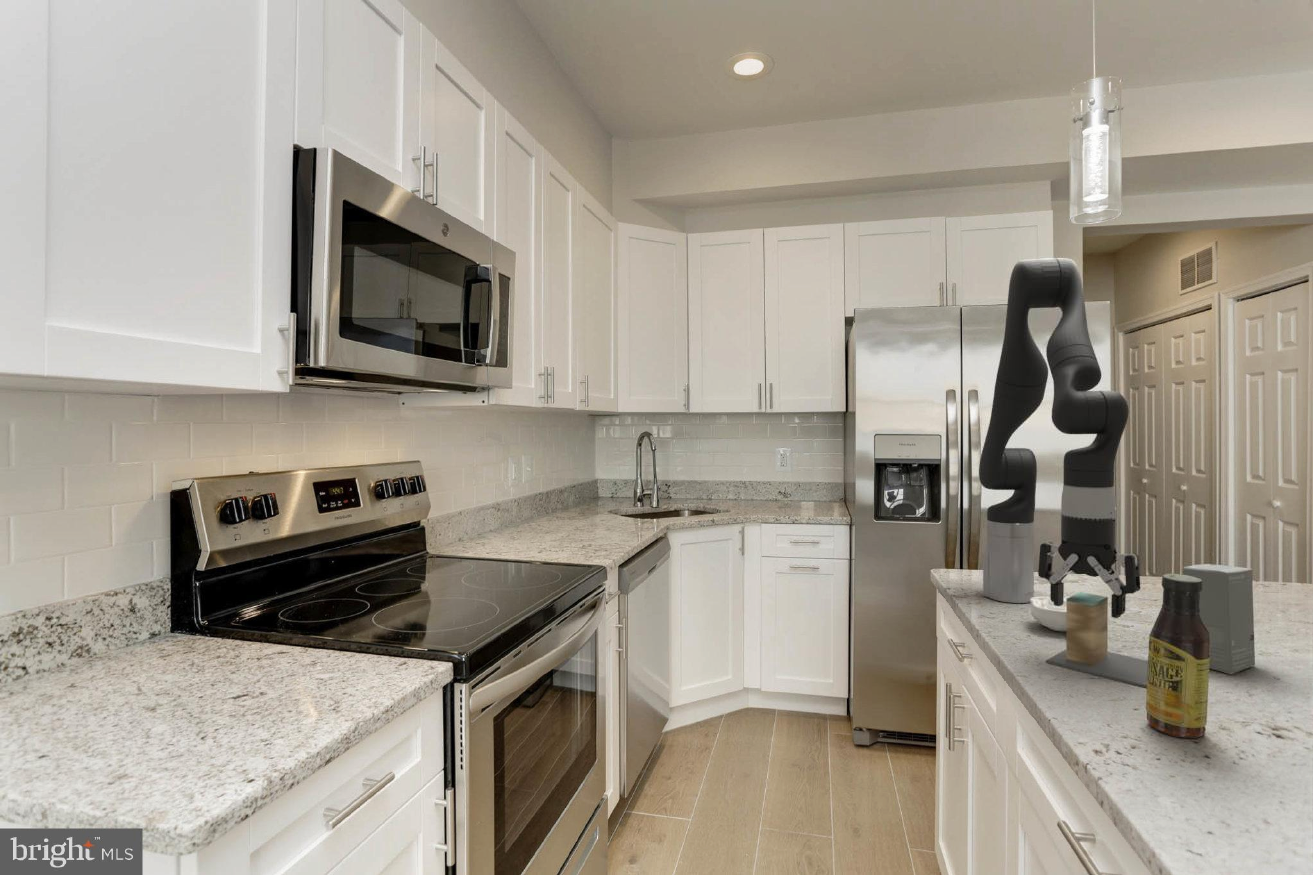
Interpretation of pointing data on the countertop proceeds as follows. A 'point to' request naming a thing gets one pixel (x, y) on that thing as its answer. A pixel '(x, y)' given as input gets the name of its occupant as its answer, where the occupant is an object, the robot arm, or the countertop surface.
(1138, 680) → the mat
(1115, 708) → the countertop surface
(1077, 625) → the block
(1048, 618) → the cell model
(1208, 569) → the skincare box
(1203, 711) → the sauce bottle
